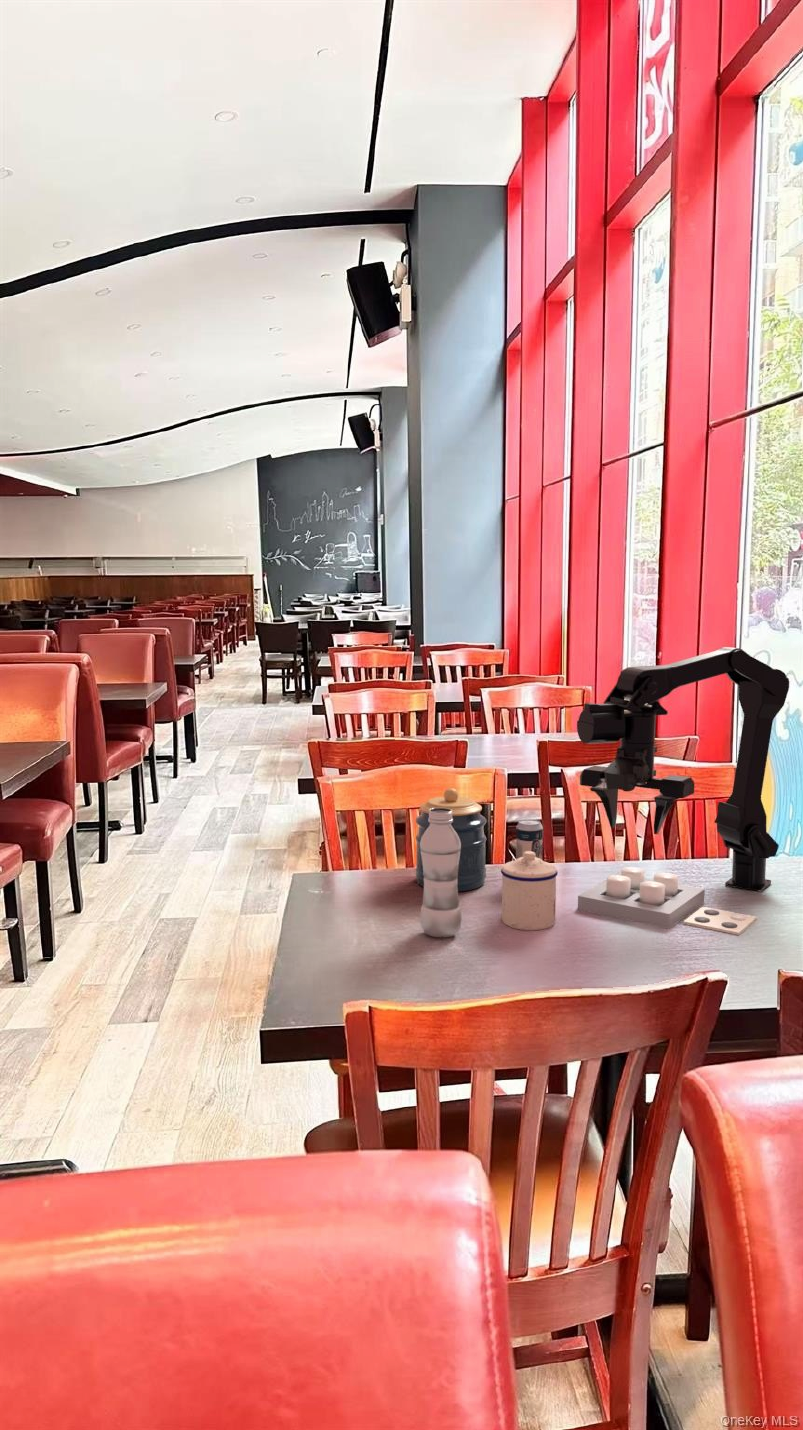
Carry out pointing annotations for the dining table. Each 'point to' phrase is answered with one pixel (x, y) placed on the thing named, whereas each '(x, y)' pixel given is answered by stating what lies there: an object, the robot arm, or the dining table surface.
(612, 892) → the button
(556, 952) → the dining table surface
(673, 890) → the button
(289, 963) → the dining table surface
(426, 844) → the plastic bottle
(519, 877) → the teacup with lid
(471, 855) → the canister
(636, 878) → the button
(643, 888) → the button
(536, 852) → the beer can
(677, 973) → the dining table surface
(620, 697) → the robot arm
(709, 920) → the card
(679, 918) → the board
